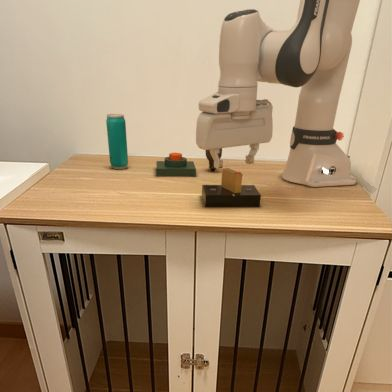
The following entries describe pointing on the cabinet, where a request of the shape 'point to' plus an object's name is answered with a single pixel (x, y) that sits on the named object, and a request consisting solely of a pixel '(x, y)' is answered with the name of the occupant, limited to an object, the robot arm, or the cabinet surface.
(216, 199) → the panel
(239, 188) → the tan rectangular block
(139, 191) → the cabinet surface
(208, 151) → the light bulb
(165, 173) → the button block
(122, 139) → the beverage can
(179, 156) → the button
